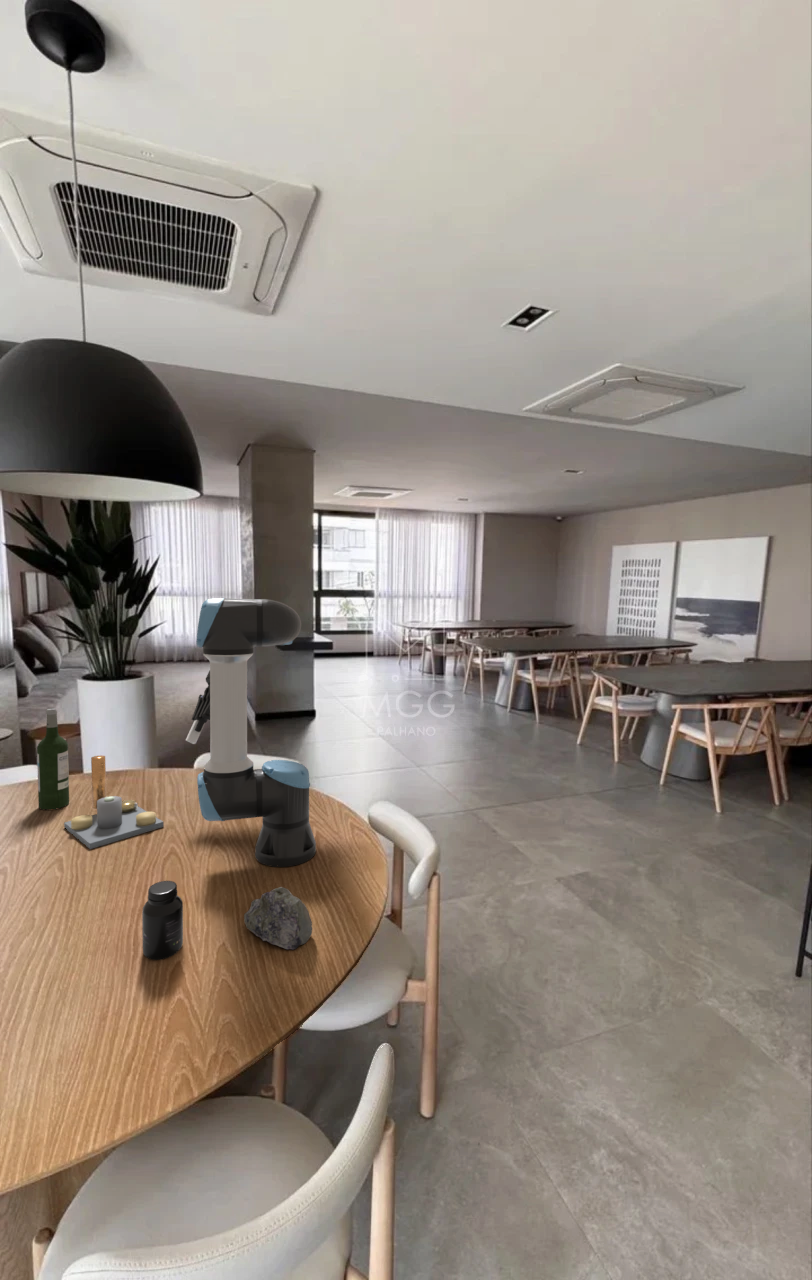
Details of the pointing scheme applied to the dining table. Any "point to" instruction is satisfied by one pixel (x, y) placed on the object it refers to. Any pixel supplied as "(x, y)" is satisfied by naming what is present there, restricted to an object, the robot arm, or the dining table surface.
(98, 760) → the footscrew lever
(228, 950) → the dining table surface
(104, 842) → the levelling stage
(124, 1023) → the dining table surface
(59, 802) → the wine bottle
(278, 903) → the mineral rock
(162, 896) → the supplement bottle
